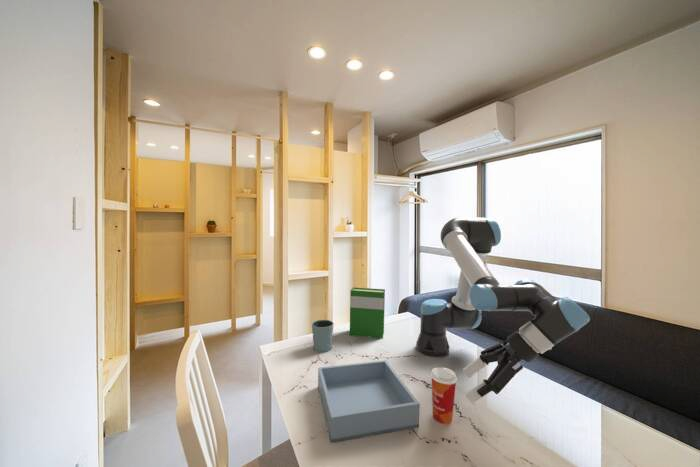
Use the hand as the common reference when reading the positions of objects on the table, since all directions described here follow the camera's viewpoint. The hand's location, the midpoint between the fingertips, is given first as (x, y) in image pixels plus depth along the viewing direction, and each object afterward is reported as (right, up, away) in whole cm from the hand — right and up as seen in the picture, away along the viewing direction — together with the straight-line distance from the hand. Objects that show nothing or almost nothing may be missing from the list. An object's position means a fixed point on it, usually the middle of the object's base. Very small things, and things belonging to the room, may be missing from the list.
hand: (467, 384), depth 79 cm
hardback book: (-25, -10, +67) cm, 72 cm away
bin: (-30, -11, +9) cm, 33 cm away
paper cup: (-6, -12, +4) cm, 14 cm away
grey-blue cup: (-47, -10, +49) cm, 69 cm away
